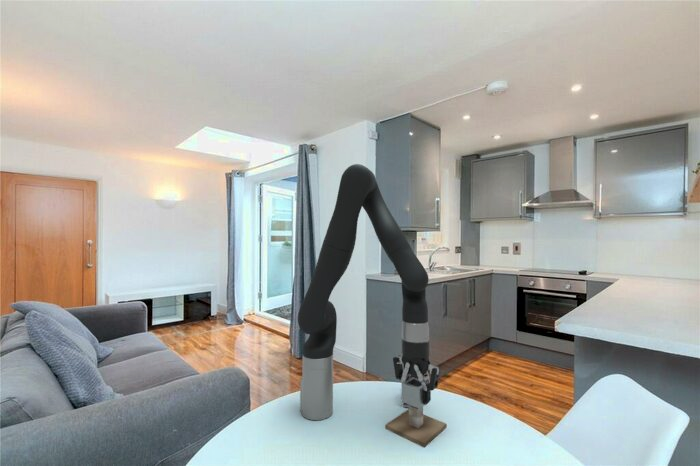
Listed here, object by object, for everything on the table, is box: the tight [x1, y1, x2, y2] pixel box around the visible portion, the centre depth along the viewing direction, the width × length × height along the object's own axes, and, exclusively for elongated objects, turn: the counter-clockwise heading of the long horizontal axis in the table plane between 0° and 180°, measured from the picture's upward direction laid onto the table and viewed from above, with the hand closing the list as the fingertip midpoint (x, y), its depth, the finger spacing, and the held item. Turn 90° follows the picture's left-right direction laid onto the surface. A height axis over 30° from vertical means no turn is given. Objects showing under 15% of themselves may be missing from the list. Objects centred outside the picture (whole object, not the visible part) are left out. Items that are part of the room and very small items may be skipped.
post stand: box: [384, 405, 447, 448], centre depth 87 cm, size 12×12×6 cm
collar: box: [401, 377, 426, 409], centre depth 87 cm, size 6×6×5 cm
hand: (416, 399), depth 87 cm, fingers closed on collar, 5 cm apart
